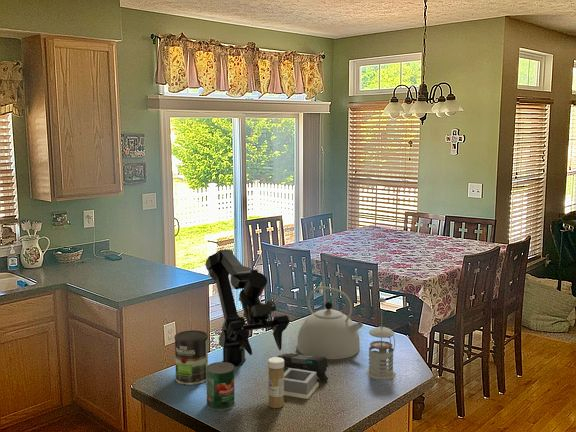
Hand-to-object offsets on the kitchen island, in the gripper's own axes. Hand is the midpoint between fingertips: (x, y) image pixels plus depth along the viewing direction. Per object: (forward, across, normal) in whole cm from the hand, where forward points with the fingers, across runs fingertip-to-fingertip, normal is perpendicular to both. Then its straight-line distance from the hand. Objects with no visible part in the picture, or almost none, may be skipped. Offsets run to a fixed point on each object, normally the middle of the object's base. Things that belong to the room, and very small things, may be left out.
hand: (266, 352), depth 169 cm
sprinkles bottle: (+15, 0, +4) cm, 15 cm away
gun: (+2, +17, +17) cm, 24 cm away
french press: (+10, +40, +9) cm, 43 cm away
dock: (+10, +10, +9) cm, 17 cm away
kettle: (-9, +37, +28) cm, 47 cm away
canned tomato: (+10, -14, +10) cm, 19 cm away
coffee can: (-6, -16, +24) cm, 30 cm away
